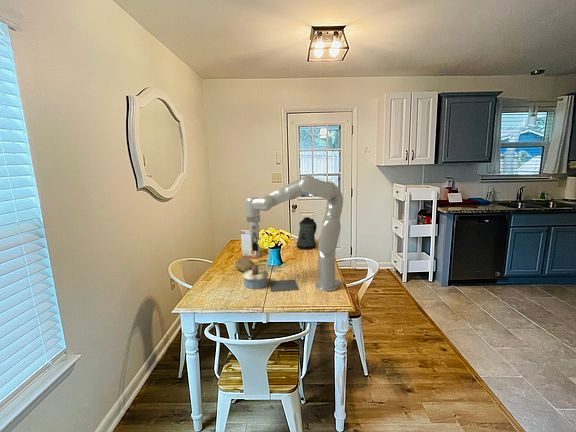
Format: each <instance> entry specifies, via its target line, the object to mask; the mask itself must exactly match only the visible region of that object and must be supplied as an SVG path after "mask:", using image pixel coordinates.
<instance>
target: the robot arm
mask: <svg viewBox="0 0 576 432" xmlns="http://www.w3.org/2000/svg"><path fill="white" fill-rule="evenodd" d="M305 194H309V195H312V196H316V197H318V198H321V199H325V200H327V201H326V202H327V203H326V208H325V213H324V217H323V219H322V220H323V221H322V226H321V230H320V235H319V237H318V240H317V244H318V245H317V246H318V249H317V251H318V252H317V253H318V254H317V255H318V256H317V257H318V260H317V263H318V264H317V267H318V269H317V272H318V273H317V275H318V276H317V283H315V288H316V289H317V290H319V291H322V292H333V291H334V292H335V291H337V290H338V286H339V285H344V280H340V279H336V249H337V246H338V242H339V237H340V235H341V234H340V232H341V227H342V226H341V216H342V211H343V205H344V196H343V193H342V191H341V189H340V188H339V186H338V185H336V184H335V183H334V182H333V181H325V180H323V179H322V180H321V179H318V178H315V177H314V176H312V175H308V174H307V175H305V176H303V177H300V178H298V179H296V180H295V181H292V182H289V183H288V184H285V185H284V186H282V187H280V188H279V189H277V190H276V191H275V190H274V191H273V192H271V193H269V194H266V195H264V196H263V197H258V196H250V197H246V199H245V210H246V211H245V212H246V223H248V225H249V226H248V229H250V237H251V240H252V251H258V244H257V239H258V240H259V239H260V240H261V237H260V238H259V230H260V224H259V223H260V222H261V213H260V212H262V211H263V212H267V211H269V210H271V209H272V208H273V207H276V206H277V205H280V204H281V203H284V202H286V201H287V202H288V201H292V200H294V199H296V198H298V197H301V196H302V195H305Z"/></svg>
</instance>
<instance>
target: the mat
mask: <svg viewBox="0 0 576 432" xmlns="http://www.w3.org/2000/svg"><path fill="white" fill-rule="evenodd" d="M268 284H269V289H270V293H277V292H289V291H290V292H291V291H294V292H295V291H300V288H299V286H298V283H297V281H296V279H281V280H270V281H269V280H268Z"/></svg>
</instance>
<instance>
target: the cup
mask: <svg viewBox="0 0 576 432" xmlns="http://www.w3.org/2000/svg"><path fill="white" fill-rule="evenodd" d="M267 280H268V279H267V277H266V278H264V279H261V280H246V279H244V278H243V284H244V285H243V286H244V288H246V289H248V290H260V289H263V288H265V287H267V285H268V282H267Z"/></svg>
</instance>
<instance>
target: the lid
mask: <svg viewBox="0 0 576 432" xmlns="http://www.w3.org/2000/svg"><path fill="white" fill-rule="evenodd" d="M241 275H242V278H243V280H244V279H246V280H261V279H264V278H266V277H268V276H269V271H267V270H264V269H259V264H252V269H251V270H249V271H246V272H243V273H242V274H241Z"/></svg>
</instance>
